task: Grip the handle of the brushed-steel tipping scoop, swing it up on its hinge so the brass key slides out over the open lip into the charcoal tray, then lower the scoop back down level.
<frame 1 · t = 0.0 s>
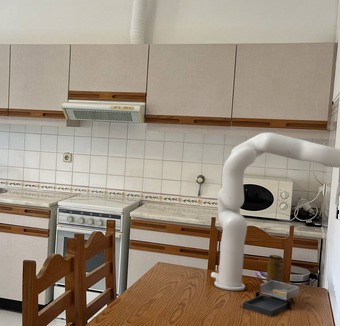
scoop: (282, 288, 195), point 4 cm above the table, hinge at 0.0°, touching key
condiment: (274, 283, 218), on the table
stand: (278, 301, 193), on the table
key: (281, 293, 193), point 3 cm above the table, touching scoop
tray: (265, 307, 185), on the table
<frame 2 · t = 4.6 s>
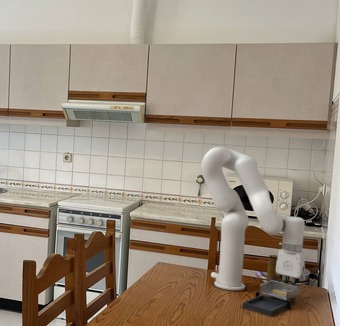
hand: (288, 292, 200), 2 cm above the table, tool pointing down, fingers closed on scoop
scoop: (282, 288, 195), point 4 cm above the table, hinge at 0.0°, touching gripper, key
everything else where it was.
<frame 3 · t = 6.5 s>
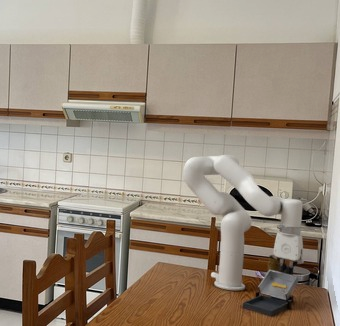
hand: (286, 275, 197), 9 cm above the table, tool pointing down, fingers closed on scoop
scoop: (281, 279, 193), point 8 cm above the table, hinge at 29.9°, touching gripper, key
key: (281, 286, 192), point 6 cm above the table, tilted 30°, touching scoop
everything else where it was.
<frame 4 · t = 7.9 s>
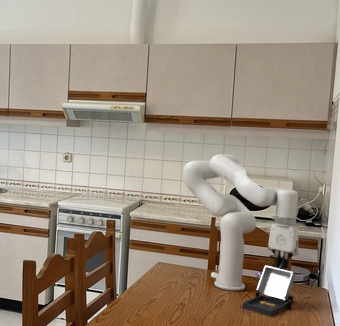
hand: (281, 267, 193), 13 cm above the table, tool pointing down, fingers closed on scoop
scoop: (278, 275, 191), point 11 cm above the table, hinge at 55.0°, touching gripper
key: (269, 303, 187), point 1 cm above the table, tilted 180°, touching tray
everything else where it was.
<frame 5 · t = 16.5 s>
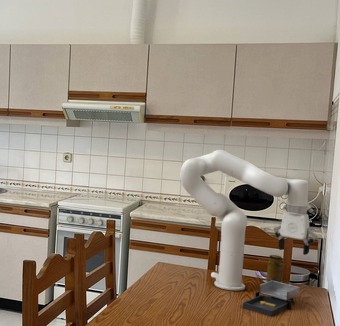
hand: (293, 251, 200), 18 cm above the table, tool pointing down, fingers open, 9 cm apart
scoop: (282, 289, 195), point 4 cm above the table, hinge at -0.6°, touching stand
everything else where it was.
at the end: key inside the target area in the tray (2.8 cm from its centre), point 0.9 cm above the tray's base; scoop reached +56° during the clip, -1° at the end; scoop at -1° (first picture: +0°) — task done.
